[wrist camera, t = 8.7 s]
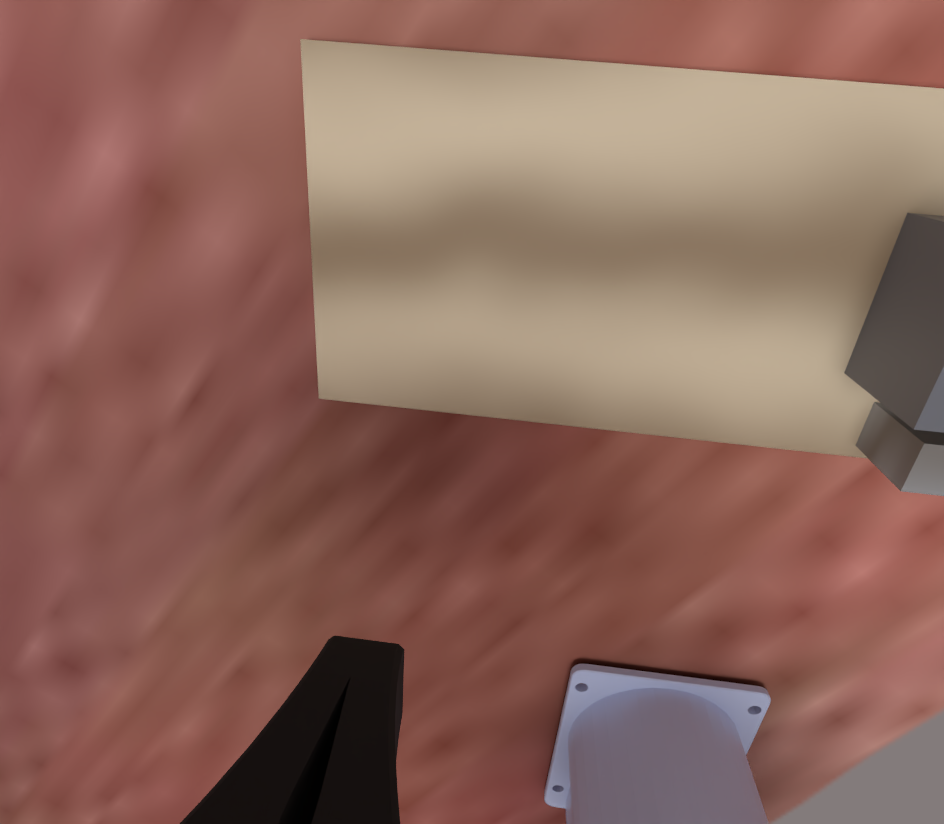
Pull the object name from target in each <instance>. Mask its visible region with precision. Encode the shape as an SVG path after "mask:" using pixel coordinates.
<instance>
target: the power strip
mask: <svg viewBox="0 0 944 824" xmlns="http://www.w3.org/2000/svg"><path fill="white" fill-rule="evenodd" d="M844 373H845V374H846V375H847V376H848V377H850V378H851V379H852V380H853V381H855V382H856V383H857V384H858V385H859V386H861V387H862V388H863V389H864V390H866V391H867V392H868V393H869V394H871V395H872V396H873V397H874V398H875V399H877V400H878V401H879V402H880V403H882V404H883V405H884V406H885V407H887V408H888V409H889V410H890V411H891V412H893V413H894V414H895V415H896V416H898V417H899V418H900V419H901V420H903V421H904V422H905V423H906V424H907V425H909V426H910V427H911V428H912V429H914V430H923V431H933V432H942V433H944V216H939V215H928V214H916V213H907V215H906V217H905V220H904V222H903V225H902V227H901V230H900V233H899V235H898V238H897V240H896V243H895V245H894V248H893V250H892V253H891V255H890V258H889V260H888V263H887V266H886V268H885V271H884V273H883V276H882V278H881V281H880V283H879V286H878V288H877V291H876V293H875V296H874V299H873V301H872V304H871V306H870V309H869V311H868V314H867V316H866V319H865V321H864V324H863V326H862V329H861V332H860V334H859V337H858V339H857V342H856V344H855V347H854V349H853V352H852V354H851V357H850V359H849V362H848V365H847V367H846V370H845V372H844Z"/></svg>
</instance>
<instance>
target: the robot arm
mask: <svg viewBox="0 0 944 824" xmlns="http://www.w3.org/2000/svg"><path fill="white" fill-rule="evenodd" d="M403 672H404V649H403V648H402V647H401V646H400V645H399V644H394V643H387V642H379V641H371V640H364V639H356V638H348V637H341V636H333V637H332V638H330V639H329V640H328V641H327V643H326V644H325V646H324V648H323V649H322V651H321V652H320V654H319V655H318V657H317V658H316V660H315V661H314V662H313V664H312V665H311V667H310V668H309V670H308V671H307V672H306V674H305V675H304V677H303V678H302V679H301V681H300V682H299V684H298V685H297V686H296V688H295V689H294V690H293V692H292V693H291V694H290V696H289V697H288V698H287V700H286V701H285V702H284V704H283V705H282V706H281V707H280V709H279V710H278V711H277V712H276V714H275V715H274V716H273V717H272V719H271V720H270V721H269V722H268V724H267V725H266V726H265V727H264V729H263V730H262V731H261V732H260V734H259V735H258V736H257V737H256V739H255V740H254V741H253V742H252V744H251V745H250V746H249V747H248V748H247V750H246V751H245V752H244V753H243V754H242V755H241V756H240V758H239V759H238V760H237V761H236V762H235V763H234V764H233V766H232V767H231V768H230V769H229V770H228V771H227V772H226V774H225V775H224V776H223V777H222V778H221V779H220V780H219V782H218V783H217V784H216V785H215V786H214V787H213V789H212V790H211V791H210V792H209V793H208V794H207V795H206V796H205V797H204V798H203V799H202V801H201V802H200V803H199V804H198V805H197V806H196V807H195V808H194V809H193V810H192V811H191V812H190V813H189V814H188V815H187V817H186V818H185V819H184V820H183V821H182V822H181V823H180V824H400V817H399V805H398V793H397V777H396V756H397V747H398V738H399V731H400V724H401V718H402V707H403ZM580 683H583V684H580ZM770 702H771V698H770V696H769V693H768V691H767V690H766V689H765V688H764V687H760V686H755V685H747V684H739V683H731V682H724V681H716V680H708V679H700V678H693V677H685V676H677V675H670V674H662V673H654V672H646V671H639V670H631V669H623V668H615V667H608V666H600V665H592V664H577V665H575V666H574V667H573V668H572V669H571V672H570V677H569V682H568V686H567V691H566V695H565V700H564V705H563V709H562V714H561V718H560V723H559V727H558V732H557V737H556V741H555V746H554V750H553V755H552V759H551V764H550V769H549V773H548V778H547V782H546V787H545V791H544V799H545V802H546V803H547V804H548V805H550V806H553V807H559V808H566V824H769V823H768V820H767V817H766V814H765V811H764V808H763V805H762V802H761V799H760V796H759V793H758V790H757V787H756V784H755V781H754V778H753V775H752V772H751V769H750V766H749V763H748V760H747V757H746V755H747V752H748V750H749V748H750V746H751V744H752V742H753V739H754V737H755V735H756V733H757V731H758V729H759V726H760V724H761V722H762V720H763V718H764V716H765V713H766V711H767V709H768V707H769V705H770Z"/></svg>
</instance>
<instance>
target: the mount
mask: <svg viewBox="0 0 944 824" xmlns="http://www.w3.org/2000/svg"><path fill="white" fill-rule="evenodd" d="M300 40H301V60H302V79H303V99H304V118H305V138H306V157H307V177H308V197H309V216H310V236H311V255H312V275H313V294H314V314H315V334H316V353H317V373H318V392H319V399H327V400H336V401H345V402H355V403H364V404H373V405H382V406H391V407H401V408H410V409H419V410H428V411H437V412H447V413H456V414H465V415H474V416H483V417H492V418H502V419H511V420H520V421H529V422H538V423H548V424H557V425H566V426H575V427H584V428H594V429H603V430H612V431H621V432H630V433H639V434H649V435H658V436H667V437H676V438H685V439H695V440H704V441H713V442H722V443H731V444H741V445H750V446H759V447H768V448H777V449H787V450H796V451H805V452H814V453H823V454H832V455H842V456H851V457H860V458H868V459H869V460H870V461H871V462H872V463H873V464H874V465H875V466H876V467H877V468H878V469H879V470H880V471H881V472H882V473H883V474H884V475H885V476H886V477H887V478H888V479H889V480H890V481H891V482H892V483H893V484H894V485H895V486H896V487H897V488H898V489H899V490H900V491H904V492H913V493H922V494H931V495H940V496H944V433H942V432H933V431H923V430H914V429H912V428H911V427H910V426H909V425H907V424H906V423H905V422H904V421H903V420H901V419H900V418H899V417H898V416H896V415H895V414H894V413H893V412H891V411H890V410H889V409H888V408H887V407H885V406H884V405H883V404H882V403H880V402H879V401H878V400H877V399H875V398H874V397H873V396H872V395H871V394H869V393H868V392H867V391H866V390H864V389H863V388H862V387H861V386H859V385H858V384H857V383H856V382H855V381H853V380H852V379H851V378H850V377H848V376H847V375H846V374H845V373H844V372H845V370H846V367H847V365H848V362H849V359H850V357H851V354H852V352H853V349H854V347H855V344H856V342H857V339H858V337H859V334H860V332H861V329H862V326H863V324H864V321H865V319H866V316H867V314H868V311H869V309H870V306H871V304H872V301H873V299H874V296H875V293H876V291H877V288H878V286H879V283H880V281H881V278H882V276H883V273H884V271H885V268H886V266H887V263H888V260H889V258H890V255H891V253H892V250H893V248H894V245H895V243H896V240H897V238H898V235H899V233H900V230H901V227H902V225H903V222H904V220H905V217H906V215H907V213H916V214H928V215H939V216H944V89H942V88H929V87H916V86H903V85H890V84H877V83H864V82H851V81H838V80H825V79H812V78H799V77H786V76H773V75H760V74H747V73H734V72H721V71H708V70H695V69H682V68H669V67H656V66H643V65H630V64H617V63H604V62H591V61H578V60H565V59H552V58H539V57H526V56H513V55H500V54H487V53H474V52H461V51H448V50H435V49H422V48H409V47H396V46H383V45H370V44H357V43H344V42H331V41H318V40H305V39H300Z"/></svg>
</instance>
